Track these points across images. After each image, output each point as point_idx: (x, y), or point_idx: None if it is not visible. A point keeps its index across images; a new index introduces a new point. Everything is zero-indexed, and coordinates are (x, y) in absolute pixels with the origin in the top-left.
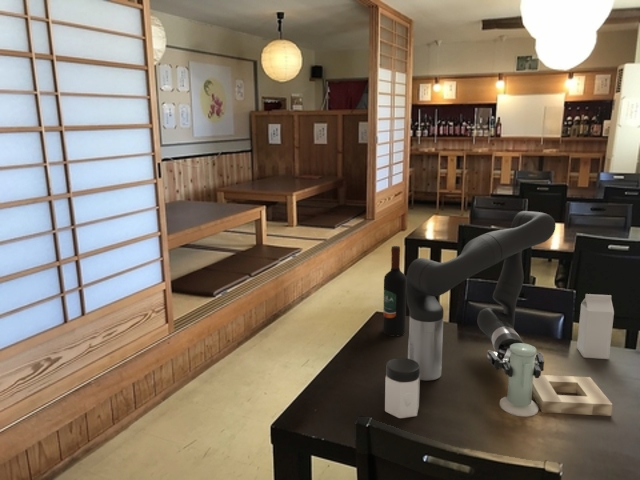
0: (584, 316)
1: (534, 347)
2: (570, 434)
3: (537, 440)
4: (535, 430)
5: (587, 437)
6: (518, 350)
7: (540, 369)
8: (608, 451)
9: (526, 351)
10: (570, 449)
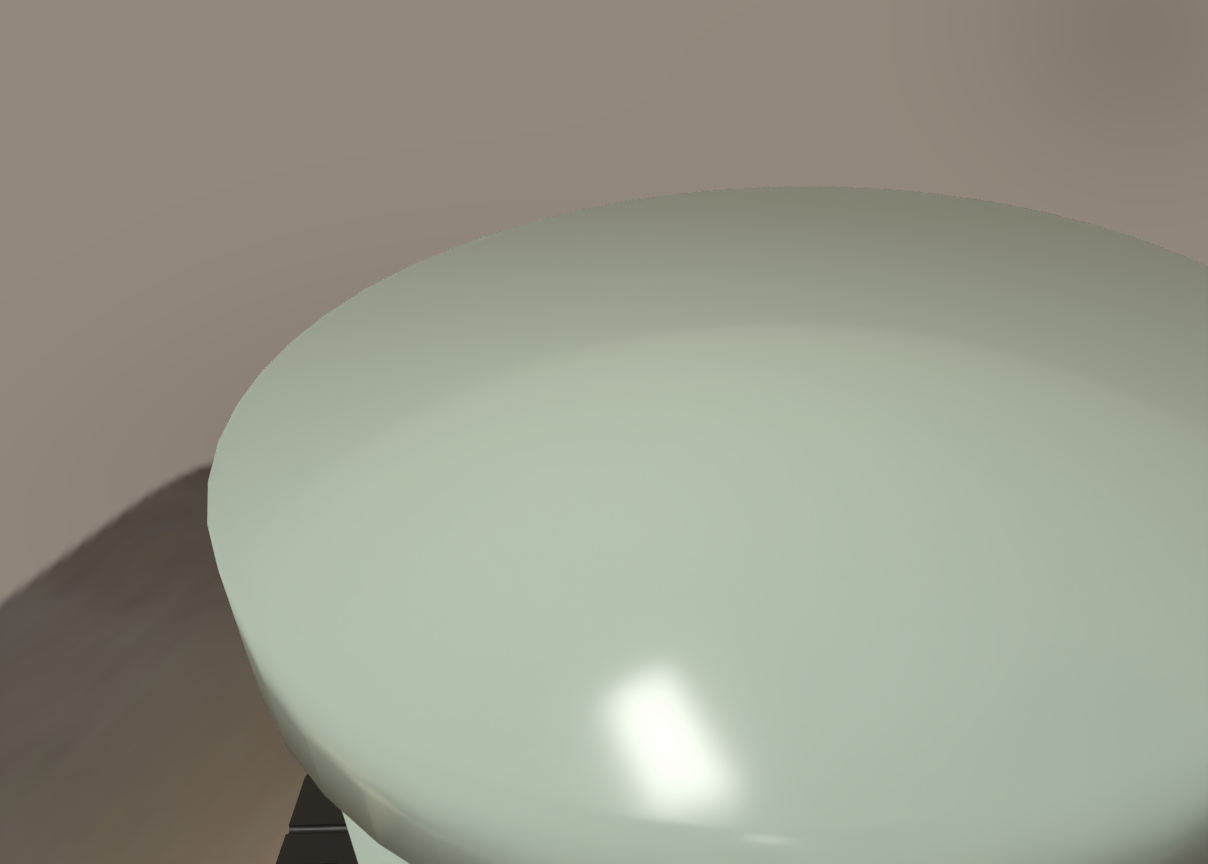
0: None
1: (232, 460)
2: None
3: None
4: None
5: (197, 746)
6: (969, 254)
7: (304, 798)
8: (171, 607)
9: (698, 247)
10: None
